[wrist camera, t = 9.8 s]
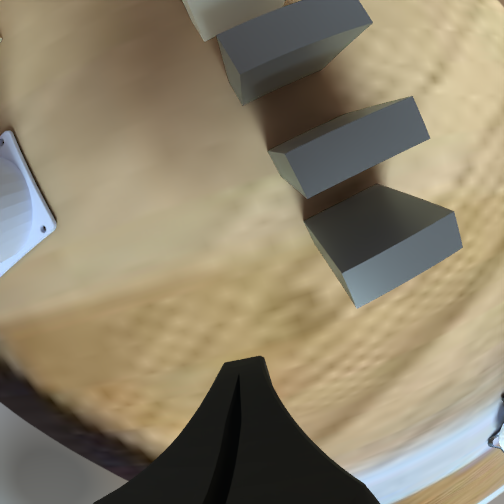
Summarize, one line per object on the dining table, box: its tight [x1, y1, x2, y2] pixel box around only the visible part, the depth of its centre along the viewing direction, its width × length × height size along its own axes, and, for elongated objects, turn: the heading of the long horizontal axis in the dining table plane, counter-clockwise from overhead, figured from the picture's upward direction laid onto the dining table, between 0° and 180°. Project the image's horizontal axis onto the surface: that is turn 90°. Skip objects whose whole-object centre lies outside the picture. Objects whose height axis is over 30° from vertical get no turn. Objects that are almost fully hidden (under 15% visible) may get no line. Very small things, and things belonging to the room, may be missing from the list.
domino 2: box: [268, 96, 430, 199], centre depth 13 cm, size 5×2×8 cm, turn 118°
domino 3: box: [304, 184, 463, 308], centre depth 15 cm, size 5×2×8 cm, turn 118°
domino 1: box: [216, 0, 373, 106], centre depth 12 cm, size 5×2×8 cm, turn 118°
